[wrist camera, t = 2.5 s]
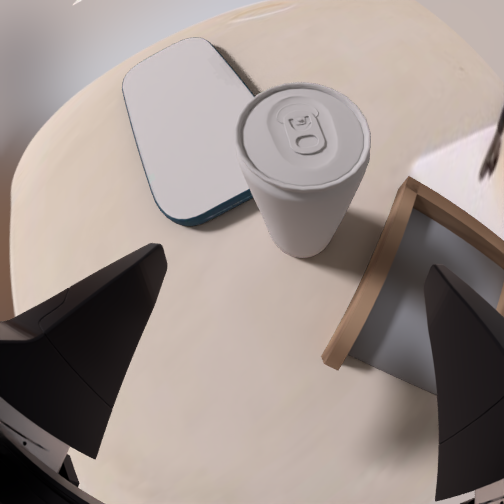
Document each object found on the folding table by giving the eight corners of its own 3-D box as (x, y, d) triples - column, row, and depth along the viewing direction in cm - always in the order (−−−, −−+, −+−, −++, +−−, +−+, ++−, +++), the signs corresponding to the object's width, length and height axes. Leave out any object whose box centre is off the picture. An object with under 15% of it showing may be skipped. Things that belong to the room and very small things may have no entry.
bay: (454, 414, 15) (468, 424, 12) (321, 356, 18) (324, 363, 15) (512, 266, 16) (528, 262, 13) (398, 189, 19) (408, 176, 17)
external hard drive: (125, 84, 27) (118, 75, 25) (205, 41, 26) (200, 30, 24) (176, 242, 22) (165, 237, 20) (304, 176, 21) (305, 164, 19)
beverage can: (324, 190, 20) (345, 73, 8) (341, 251, 19) (396, 180, 7) (262, 203, 21) (221, 94, 9) (275, 265, 20) (242, 210, 8)
